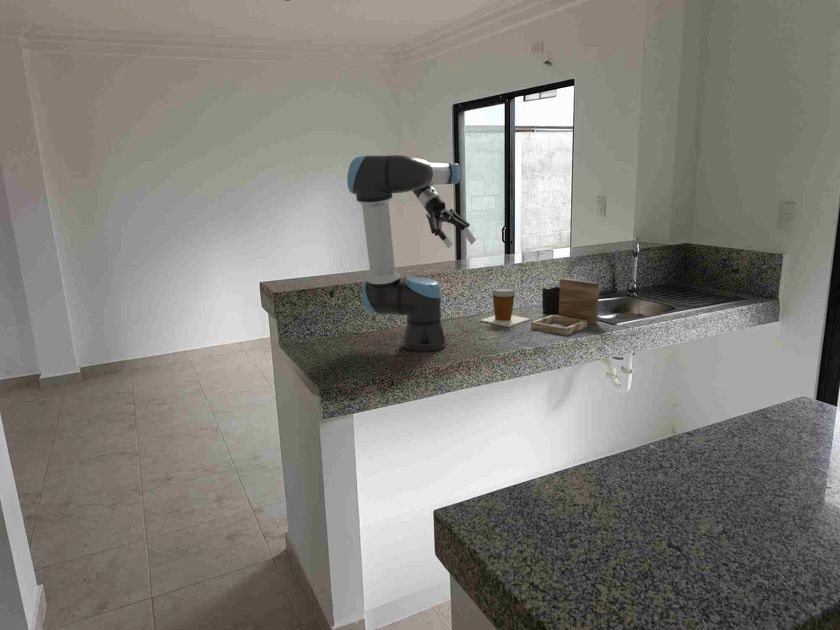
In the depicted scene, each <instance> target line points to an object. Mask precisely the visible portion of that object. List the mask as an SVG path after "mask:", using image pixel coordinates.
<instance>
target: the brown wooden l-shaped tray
mask: <svg viewBox="0 0 840 630" xmlns="http://www.w3.org/2000/svg"><path fill="white" fill-rule="evenodd" d="M559 287H560V292H559V314H556V315H553V314H549V315H548V316H545V317H543V318H540V319H537V320H534V321H531V324H530V326H531V327H530V329H532V330H536V331H541V330H543V331H542V332H546V331H548V332H547V333H552V332H553V333H552V334H557V333H558V335H562V334H563V335H562V336H568V335H571V334H573V333H576V332H578V331H581V330H584V329H585V327H586V328H588V324H589V323H591V325H597V324H598V311H599V310H598V309H599V293H600V292H599V291H600V283H599V282H593V281H587V280H586V281H585V280H577V279H569V278H560V279H559ZM548 323H549V324H548ZM551 323H558V324H564V325H568V326H566V327H565V326H564V327H563V326H559V325H553V324H551ZM596 323H597V324H596Z"/></svg>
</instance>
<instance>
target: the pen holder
mask: <svg viewBox="0 0 840 630" xmlns="http://www.w3.org/2000/svg"><path fill="white" fill-rule="evenodd" d="M559 292H560V286H554V287H552V288H545V287H543V288H542V294H541V295H542V297H541V298H542V313H544V314H546V313H547V315H553V314H556V315H559Z"/></svg>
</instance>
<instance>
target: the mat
mask: <svg viewBox="0 0 840 630" xmlns="http://www.w3.org/2000/svg"><path fill="white" fill-rule="evenodd" d="M530 319H531V318H529V317H523V316H517V315H512V316H511V319H510V320H506V321H500V320H496V319H495V315H491V316H489V317H486V318H483V319H482V318H481V319H480V322H481V321H483V323H486V322H488V323H487V324H491V323H493V324H492V325H496V324H497V325H496V326H501V325H502V327H506V326H507V327H508V328H511V327H514V326H517V325H519V324H522V323H525V322H528V321H531V320H530Z"/></svg>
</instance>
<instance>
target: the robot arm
mask: <svg viewBox="0 0 840 630" xmlns="http://www.w3.org/2000/svg"><path fill="white" fill-rule="evenodd" d="M347 171H348V172H347V176H346V177H347V179H346V183H347V184H346V185H347V188H348V190H349V192H350V193H351V194H353V195H355V196H356V197H355V199H356V201H357V203H359V204H360V205H361V208H362V215H363V216H362V217H363V225H364V231H365V232H364V233H365V242H366V248H367V256H368V258H367V259H368V265H369V274H368V275H367V277H366V280H365V281H364V282H363V284H362V287H361V290H362V292H361V299H362V303H363V306H364V308H365V309H366V310H367V311H368V312H369V313H371V314H376V315H377V314H378V315H381V316H382V315H385V316H386V315H388V316H389V315H391V316H392V315H393V316H406V327H405V329H404V330H405V331H404V333H403V334H404V335H403V337H402V342H401V343H402V348H404V349H406V350H408V351H411V352H420V353H421V352H424V353H425V352H435V351H439V350H442V349H444V348H446V346H447V337H446V336H445V334H444V329H443V327H442V317H441V316H442V314H441V312H442V305H441V304H442V301H441V298H442V293H441V285H440V283H439V282H438V281H436V280H435V279H432V278H428V277H421V276H418V277H417V276H412V277H407V278H406V280H405V281H402V280H401V274H400V273H399V272H397V270H396V265H395V264H396V263H395V254H394V245H393V235H392V225H391V215H390V206H389V205H390V204H389V203H390V201H391V199H393V194H401V193H402V194H403V193H407V192H408V193H409V192H412V193H413V194H414V196H416V198H417V200H418V201H419V202H420V204H421V205H422V207H423V208H424V209H425V211H426V212H427V214H426V215H425V216H426V218H427V220H428V225H429V229H430V232H431V234H433V235H434V236H436V237H437V236H438V237H439V238H440V240H441V241H443V243H444V245H445V246H446V248H447V249H450V248H451V247H452V245H453V244H454V242H453V240H452V239H451V237H449V235H448V234H447V233H446V231H445V230H444V229H442V228H443V227H442V226H443V224H442V223H443V222H445V223H448V224H452V225H453V226H455V227H456V228H458V229H460V230H461V233H462V235H463V236H464V237H465V238H466V239H467V241H468V242H469V243H470V245H473V244H474V243H475V242H476V241H477V238H476V237H475V236H474V235H473V233H472V232H471V230H470V229H469V227H470V226H471V224H470V223H469V222H468V221H467V220H465V219H464V218H463V216H461V215H459V213H457V212H456V211H455V210H454V209H453V208H450V209H447V208H446V203H445V201H444V200H443V199H442V197H440V195H439V193H438V192H437V191H436V189H435V187H434V185H436V186H437V185H454V184H455V185H457V184H459V183H460V179H461V166H460V164H459V163H456V162H455V163H454V162H448V163H447V162H442V163H441V162H429V161H427V160H425V159H422V158H417V157H413V156H409V155H408V156H407V155H402V154H401V155H400V154H394V155H390V154H389V155H369V154H368V155H361V156H357V157H355V158H353V159H352V161H351V162H350V164H349V167H348V170H347Z"/></svg>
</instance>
